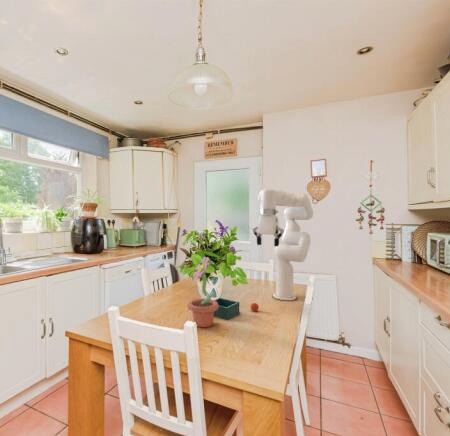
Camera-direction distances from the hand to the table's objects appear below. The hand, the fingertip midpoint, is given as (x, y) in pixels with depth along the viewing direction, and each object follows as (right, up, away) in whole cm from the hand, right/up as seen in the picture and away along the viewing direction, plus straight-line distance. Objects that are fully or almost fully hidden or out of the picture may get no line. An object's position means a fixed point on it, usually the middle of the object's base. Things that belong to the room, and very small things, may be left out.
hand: (267, 245), depth 144 cm
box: (-24, -33, -8) cm, 42 cm away
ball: (-8, -33, -4) cm, 34 cm away
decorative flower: (-35, -33, -21) cm, 53 cm away
